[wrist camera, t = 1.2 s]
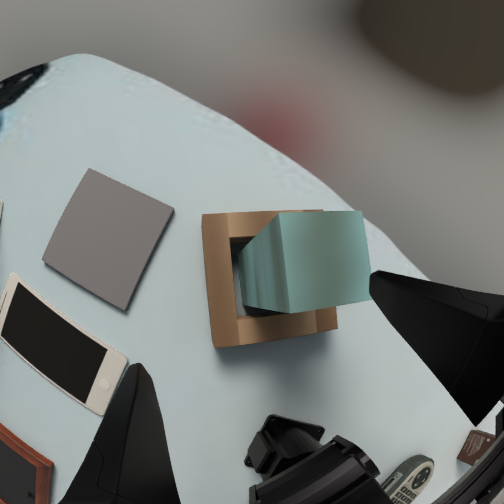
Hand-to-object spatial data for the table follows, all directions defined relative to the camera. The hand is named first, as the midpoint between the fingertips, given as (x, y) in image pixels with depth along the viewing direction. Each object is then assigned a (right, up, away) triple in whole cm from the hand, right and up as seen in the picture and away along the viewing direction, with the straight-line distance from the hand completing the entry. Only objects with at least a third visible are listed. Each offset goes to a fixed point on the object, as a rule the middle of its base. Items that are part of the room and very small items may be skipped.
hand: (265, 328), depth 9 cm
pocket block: (+1, 0, +16) cm, 16 cm away
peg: (+1, 0, +16) cm, 16 cm away
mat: (-14, +4, +14) cm, 20 cm away
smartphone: (-20, -6, +11) cm, 24 cm away
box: (+38, -31, +18) cm, 52 cm away
